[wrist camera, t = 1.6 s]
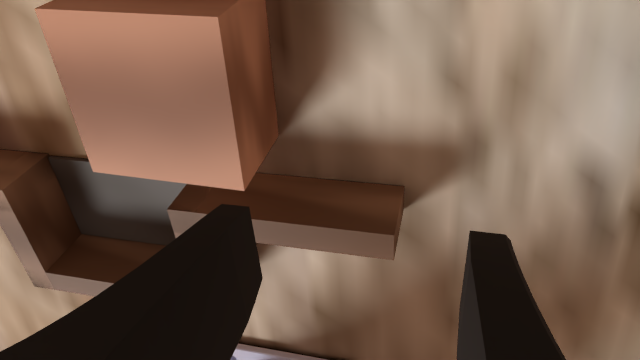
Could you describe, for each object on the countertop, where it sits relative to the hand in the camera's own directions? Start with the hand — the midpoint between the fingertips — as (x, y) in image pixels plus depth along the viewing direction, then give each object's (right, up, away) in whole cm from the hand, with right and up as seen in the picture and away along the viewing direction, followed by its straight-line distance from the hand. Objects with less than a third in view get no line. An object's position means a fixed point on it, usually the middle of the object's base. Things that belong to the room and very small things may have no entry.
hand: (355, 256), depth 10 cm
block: (-5, +6, +9) cm, 12 cm away
